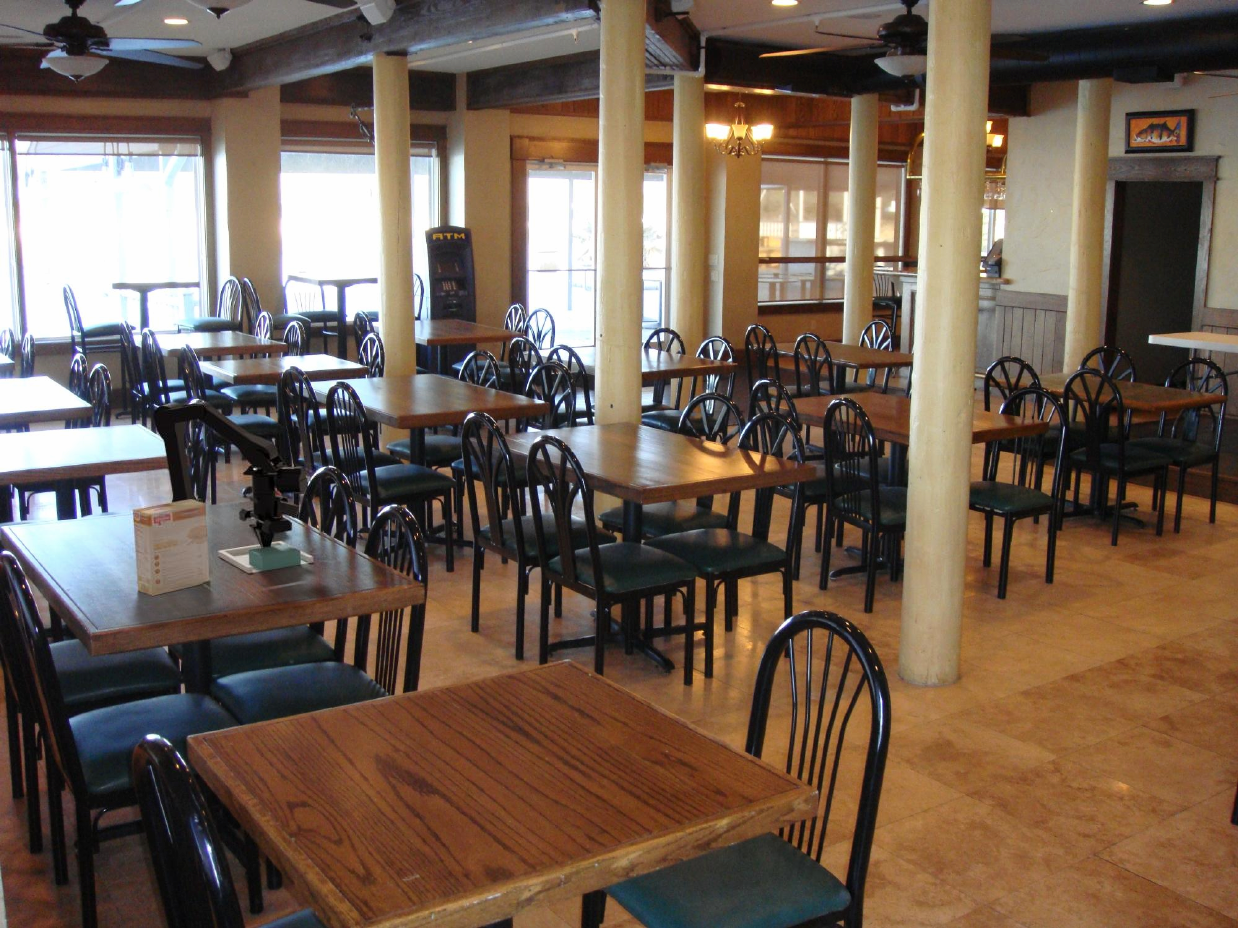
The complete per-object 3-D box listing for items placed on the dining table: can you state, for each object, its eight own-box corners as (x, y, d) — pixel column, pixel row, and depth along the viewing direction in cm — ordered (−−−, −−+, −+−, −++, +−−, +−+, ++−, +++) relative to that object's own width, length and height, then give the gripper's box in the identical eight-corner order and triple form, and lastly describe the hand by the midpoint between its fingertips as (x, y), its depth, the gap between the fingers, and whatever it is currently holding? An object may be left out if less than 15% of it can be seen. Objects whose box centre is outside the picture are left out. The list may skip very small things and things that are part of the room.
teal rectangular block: (262, 571, 296) (262, 556, 296) (249, 563, 302) (248, 549, 302) (300, 564, 303) (300, 550, 302) (286, 557, 309) (286, 543, 308)
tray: (248, 575, 295) (248, 567, 294) (218, 558, 309) (217, 550, 309) (313, 564, 305) (313, 556, 305) (281, 548, 320) (281, 540, 319)
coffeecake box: (194, 577, 293) (190, 498, 289) (211, 582, 288) (207, 502, 285) (136, 590, 281) (131, 508, 278) (152, 596, 277) (147, 513, 273)
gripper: (310, 495, 301) (312, 555, 304) (278, 482, 315) (280, 539, 318) (268, 501, 294) (270, 563, 297) (237, 487, 308) (239, 546, 311)
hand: (266, 552), depth 306 cm, fingers closed
